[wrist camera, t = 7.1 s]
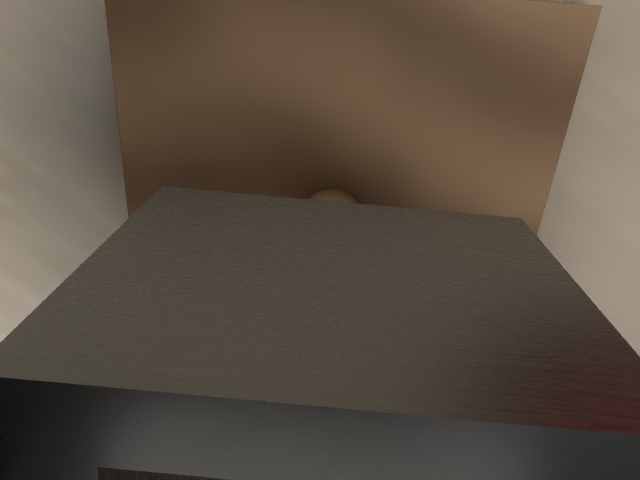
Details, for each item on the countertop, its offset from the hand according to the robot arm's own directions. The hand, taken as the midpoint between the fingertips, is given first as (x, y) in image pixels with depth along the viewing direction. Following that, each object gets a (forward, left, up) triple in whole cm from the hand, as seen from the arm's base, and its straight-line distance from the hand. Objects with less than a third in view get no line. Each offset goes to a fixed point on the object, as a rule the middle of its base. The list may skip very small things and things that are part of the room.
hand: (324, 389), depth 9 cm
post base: (-1, 0, -12) cm, 12 cm away
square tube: (0, 0, -1) cm, 1 cm away
